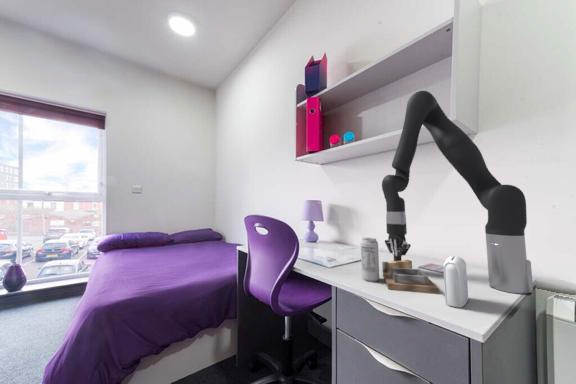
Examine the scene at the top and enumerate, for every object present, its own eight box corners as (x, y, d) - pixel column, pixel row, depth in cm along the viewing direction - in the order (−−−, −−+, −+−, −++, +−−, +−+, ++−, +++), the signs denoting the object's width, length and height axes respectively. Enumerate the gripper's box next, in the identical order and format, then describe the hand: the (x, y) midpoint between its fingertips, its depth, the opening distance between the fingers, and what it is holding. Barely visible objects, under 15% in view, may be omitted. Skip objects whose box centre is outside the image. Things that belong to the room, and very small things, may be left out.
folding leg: (385, 277, 84) (384, 263, 84) (381, 275, 86) (381, 261, 86) (412, 273, 88) (411, 260, 88) (408, 272, 90) (407, 259, 90)
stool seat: (425, 281, 80) (425, 268, 80) (438, 294, 68) (438, 279, 68) (383, 278, 84) (382, 265, 84) (388, 290, 72) (387, 275, 72)
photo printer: (451, 294, 68) (449, 252, 69) (470, 298, 65) (467, 254, 65) (443, 305, 60) (440, 258, 61) (463, 310, 57) (460, 260, 58)
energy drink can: (382, 280, 81) (380, 238, 83) (374, 284, 77) (372, 239, 78) (366, 276, 86) (365, 236, 87) (358, 280, 82) (357, 238, 83)
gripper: (378, 221, 100) (379, 261, 98) (399, 223, 87) (401, 269, 86) (392, 221, 102) (394, 260, 100) (416, 223, 89) (418, 268, 87)
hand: (397, 264), depth 93 cm, fingers closed
